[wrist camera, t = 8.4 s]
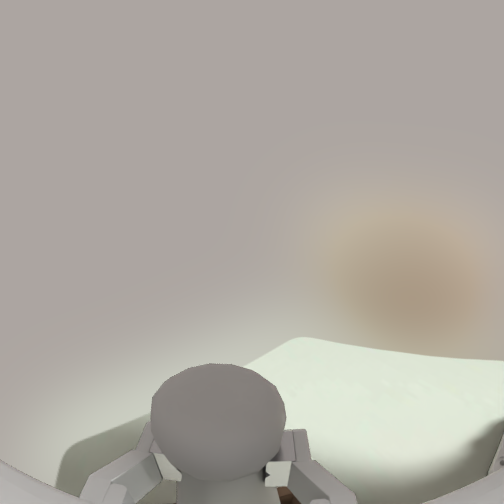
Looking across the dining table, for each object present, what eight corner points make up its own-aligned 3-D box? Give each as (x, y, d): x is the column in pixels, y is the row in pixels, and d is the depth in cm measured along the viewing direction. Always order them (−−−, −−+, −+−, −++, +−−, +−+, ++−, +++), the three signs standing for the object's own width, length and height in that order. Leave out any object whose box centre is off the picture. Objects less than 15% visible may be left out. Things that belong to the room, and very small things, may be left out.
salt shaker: (166, 522, 12) (99, 367, 9) (241, 488, 15) (235, 326, 12) (221, 588, 8) (175, 501, 4) (301, 540, 11) (353, 395, 8)
